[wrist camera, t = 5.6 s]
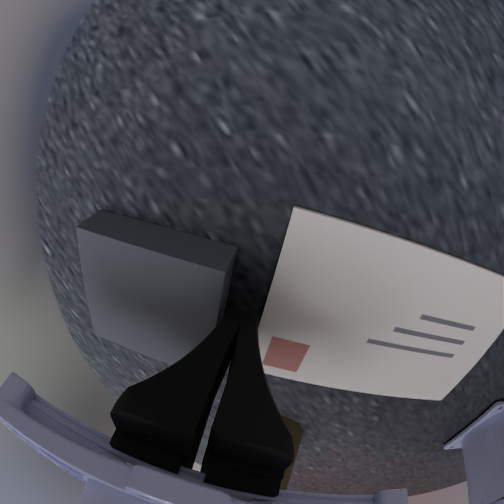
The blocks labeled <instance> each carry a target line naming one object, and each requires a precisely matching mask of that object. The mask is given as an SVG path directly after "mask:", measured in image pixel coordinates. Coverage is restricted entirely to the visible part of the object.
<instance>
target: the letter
mask: <svg viewBox="0 0 504 504" xmlns="http://www.w3.org/2000/svg"><path fill="white" fill-rule="evenodd" d="M503 329H504V275H502V274H499V273H497V272H494V271H492V270H489V269H487V268H484V267H481V266H479V265H476V264H474V263H471V262H468V261H466V260H463V259H460V258H458V257H455V256H452V255H450V254H447V253H444V252H441V251H438V250H436V249H433V248H430V247H427V246H424V245H421V244H418V243H415V242H413V241H410V240H407V239H404V238H401V237H398V236H395V235H391V234H388V233H385V232H382V231H379V230H376V229H373V228H370V227H366V226H363V225H360V224H357V223H353V222H350V221H347V220H343V219H340V218H337V217H333V216H330V215H326V214H323V213H319V212H316V211H312V210H309V209H305V208H301V207H298V206H294V207H293V211H292V215H291V218H290V222H289V225H288V229H287V232H286V236H285V239H284V243H283V246H282V250H281V253H280V257H279V260H278V264H277V267H276V270H275V274H274V277H273V281H272V284H271V287H270V291H269V294H268V297H267V301H266V304H265V307H264V311H263V314H262V317H261V320H260V324H259V327H258V340H259V348H260V355H261V360H262V365H263V369H264V373H265V374H270V375H274V376H278V377H282V378H287V379H291V380H296V381H300V382H305V383H310V384H315V385H320V386H326V387H331V388H337V389H343V390H349V391H355V392H362V393H369V394H377V395H385V396H393V397H403V398H413V399H426V400H442V399H443V398H444V397H445V396H446V395H447V394H448V393H449V392H450V391H451V390H452V389H453V388H454V387H455V386H456V385H457V384H458V383H459V382H460V381H461V380H462V379H463V377H464V376H465V375H466V374H467V373H468V372H469V371H470V370H471V369H472V368H473V366H474V365H475V364H476V363H477V362H478V361H479V359H480V358H481V357H482V356H483V355H484V353H485V352H486V351H487V350H488V349H489V347H490V346H491V345H492V343H493V342H494V341H495V340H496V338H497V337H498V336H499V334H500V333H501V332H502V330H503Z"/></svg>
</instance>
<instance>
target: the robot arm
mask: <svg viewBox="0 0 504 504" xmlns="http://www.w3.org/2000/svg"><path fill="white" fill-rule="evenodd" d="M258 319H259V317H258V316H257V315H255V314H251V313H248V312H244V311H240V310H237V309H233V308H230V309H229V310H228V311H227V313H226V314H225V316H224V317H223V319H222V320H221V321H220V322H219V324H218V325H217V326H216V327H215V328H214V329H213V330H212V331H211V333H210V334H209V335H208V336H207V337H206V338H205V339H204V340H203V341H202V342H200V343H199V344H198V345H197V346H196V347H195V348H194V349H193V350H192V351H190V352H189V353H188V354H187V355H185V356H184V357H183V358H181V359H180V360H179V361H177V362H176V363H174V364H173V365H171V366H170V367H168V368H166V369H165V370H163V371H161V372H159V373H158V374H156V375H154V376H152V377H150V378H148V379H146V380H144V381H142V382H139V383H137V384H135V385H132V386H130V387H128V388H127V389H126V390H125V391H124V392H123V393H122V395H121V396H120V397H119V399H118V400H117V402H116V403H115V405H114V407H113V409H112V411H111V413H110V415H111V418H112V420H113V422H114V425H115V427H116V430H115V432H114V434H113V436H112V438H111V437H109V436H107V435H105V434H103V433H101V432H99V431H97V430H95V429H93V428H91V427H89V426H87V425H86V424H84V423H82V422H80V421H78V420H77V419H75V418H73V417H71V416H70V415H68V414H66V413H65V412H63V411H61V410H60V409H58V408H57V407H55V406H53V405H52V404H50V403H49V402H47V401H46V400H44V399H42V398H41V397H40V396H38V395H37V394H36V393H35V391H34V389H33V388H32V387H31V386H30V385H29V384H28V383H27V382H26V381H25V380H23V379H22V378H21V377H19V376H18V375H17V374H15V373H14V372H12V373H11V374H10V376H9V377H8V378H7V379H6V381H5V382H4V383H3V385H2V386H1V387H0V420H1V421H2V422H3V423H4V424H5V425H6V426H7V427H8V428H9V429H10V430H11V431H12V432H13V433H14V434H16V435H17V436H18V437H19V438H21V439H22V440H23V441H24V442H26V443H27V444H28V445H30V446H31V447H32V448H34V449H35V450H37V451H38V452H39V453H40V454H42V455H43V456H45V457H46V458H48V459H49V460H50V461H52V462H53V463H55V464H56V465H58V466H59V467H61V468H62V469H64V470H65V471H67V472H69V473H70V474H72V475H74V476H75V477H77V478H78V479H80V480H82V481H83V482H85V483H87V484H86V486H85V488H84V490H83V492H82V494H81V497H80V499H79V501H78V503H77V504H408V503H407V489H392V490H384V491H380V492H378V493H376V494H375V495H334V494H318V493H306V492H297V491H288V490H281V489H280V485H281V480H282V479H283V477H284V471H285V470H286V469H287V468H288V467H289V466H290V465H291V464H292V463H293V462H294V444H293V438H292V435H291V433H290V432H289V430H288V428H287V427H286V425H285V423H284V421H283V419H282V417H281V415H280V413H279V411H278V409H277V407H276V404H275V402H274V400H273V397H272V395H271V392H270V389H269V387H268V383H267V380H266V377H265V373H264V369H263V365H262V360H261V355H260V348H259V340H258ZM230 361H231V363H230ZM229 364H230V368H229V373H228V378H227V383H226V386H225V389H224V392H223V395H222V398H221V401H220V404H219V407H218V410H217V413H216V416H215V419H214V422H213V424H212V427H211V432H210V436H209V440H208V445H207V448H206V452H205V455H204V458H203V461H202V467H201V471H200V472H199V471H195V470H192V467H193V464H194V461H195V458H196V455H197V452H198V448H199V445H200V442H201V439H202V436H203V433H204V429H205V426H206V423H207V420H208V417H209V414H210V411H211V407H212V404H213V401H214V399H215V396H216V394H217V391H218V389H219V387H220V385H221V382H222V380H223V378H224V375H225V373H226V371H227V368H228V366H229ZM443 447H444V449H456V448H462V451H463V457H464V463H465V470H466V478H467V486H468V496H469V504H504V401H502V402H497V403H495V404H494V405H492V406H491V407H490V408H489V409H488V410H487V411H486V412H485V413H484V414H483V415H481V416H480V417H479V418H478V419H477V420H476V421H474V422H473V423H472V424H471V425H470V426H468V427H467V428H466V429H465V430H463V431H462V432H461V433H459V434H458V435H457V436H456V437H454V438H453V439H452V440H450V441H449V442H448V443H446V444H445V445H444V446H443ZM127 463H130V464H131V465H129V464H127ZM132 465H134V466H132ZM232 497H233V498H232ZM236 498H238V499H236ZM240 499H243V500H248V501H250V502H247V501H243V500H240Z"/></svg>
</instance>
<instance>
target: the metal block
mask: <svg viewBox="0 0 504 504" xmlns="http://www.w3.org/2000/svg"><path fill="white" fill-rule="evenodd" d="M76 230H77V240H78V248H79V255H80V262H81V269H82V275H83V281H84V286H85V292H86V297H87V302H88V306H89V311H90V316H91V320H92V324H93V328H94V332H95V334H96V335H98V336H101V337H103V338H105V339H107V340H109V341H112V342H114V343H116V344H119V345H121V346H123V347H126V348H128V349H131V350H133V351H135V352H138V353H140V354H143V355H146V356H148V357H151V358H153V359H156V360H159V361H161V362H164V363H167V364H170V365H173V364H174V363H176V362H177V361H179V360H180V359H181V358H183V357H184V356H185V355H187V354H188V353H189V352H190V351H192V350H193V349H194V348H195V347H196V346H197V345H198V344H199V343H200V342H202V341H203V340H204V339H205V338H206V337H207V336H208V335H209V334H210V333H211V331H212V330H213V329H214V328H215V327H216V326H217V325H218V324H219V322H220V321H221V320H222V319H223V317H224V312H225V307H226V302H227V297H228V292H229V287H230V282H231V277H232V272H233V267H234V262H235V257H236V252H237V246H233V245H230V244H226V243H222V242H219V241H215V240H211V239H208V238H204V237H200V236H197V235H193V234H189V233H185V232H182V231H178V230H174V229H171V228H167V227H163V226H160V225H156V224H152V223H149V222H145V221H141V220H138V219H134V218H130V217H126V216H123V215H119V214H115V213H112V212H108V211H104V210H100V211H98V212H97V213H95V214H94V215H93V216H91V217H90V218H88V219H87V220H85V221H84V222H83V223H81V224H80V225H78V226H77V227H76Z"/></svg>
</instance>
